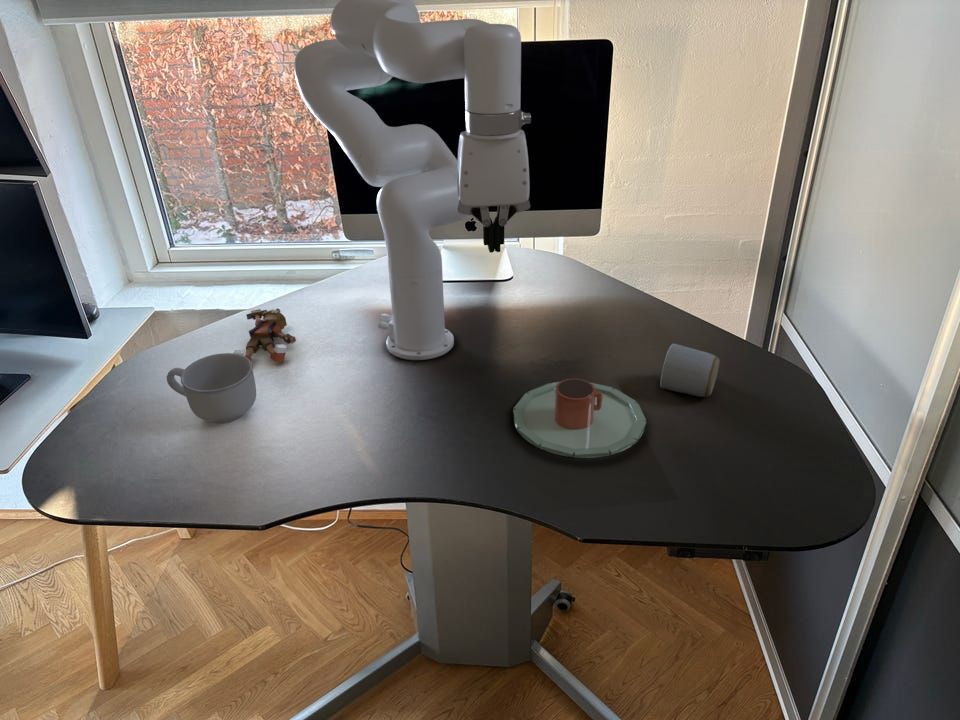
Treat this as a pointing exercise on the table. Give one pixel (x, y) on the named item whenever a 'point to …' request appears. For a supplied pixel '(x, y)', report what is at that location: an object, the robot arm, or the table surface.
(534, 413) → the plate
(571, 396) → the espresso cup
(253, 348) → the character figurine
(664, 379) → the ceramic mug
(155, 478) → the table surface
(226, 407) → the teacup
